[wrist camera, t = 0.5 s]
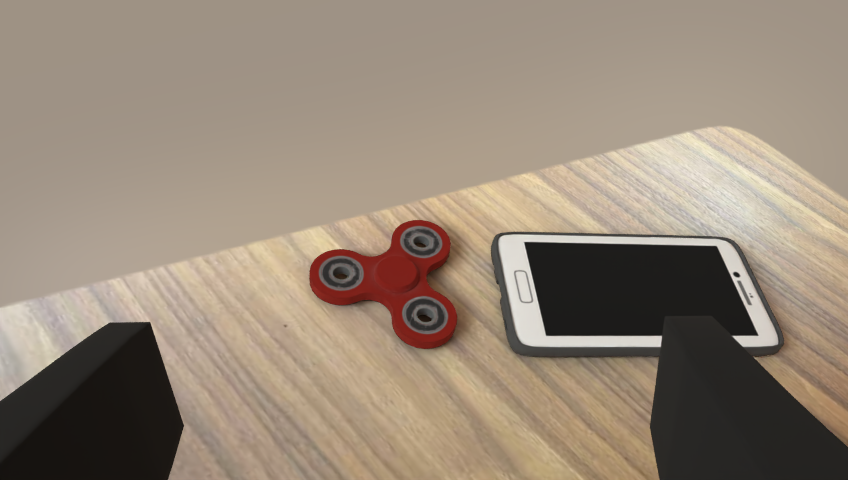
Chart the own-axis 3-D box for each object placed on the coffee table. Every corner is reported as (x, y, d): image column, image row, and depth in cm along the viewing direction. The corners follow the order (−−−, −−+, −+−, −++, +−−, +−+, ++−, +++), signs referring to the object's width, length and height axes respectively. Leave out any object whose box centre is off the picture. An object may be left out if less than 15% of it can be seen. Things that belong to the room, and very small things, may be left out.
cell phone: (486, 241, 41) (490, 230, 40) (729, 246, 43) (736, 236, 42) (509, 360, 36) (513, 349, 35) (782, 358, 38) (792, 348, 37)
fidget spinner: (456, 354, 35) (460, 338, 34) (304, 349, 35) (304, 333, 34) (446, 233, 41) (449, 217, 40) (314, 226, 40) (314, 209, 39)
